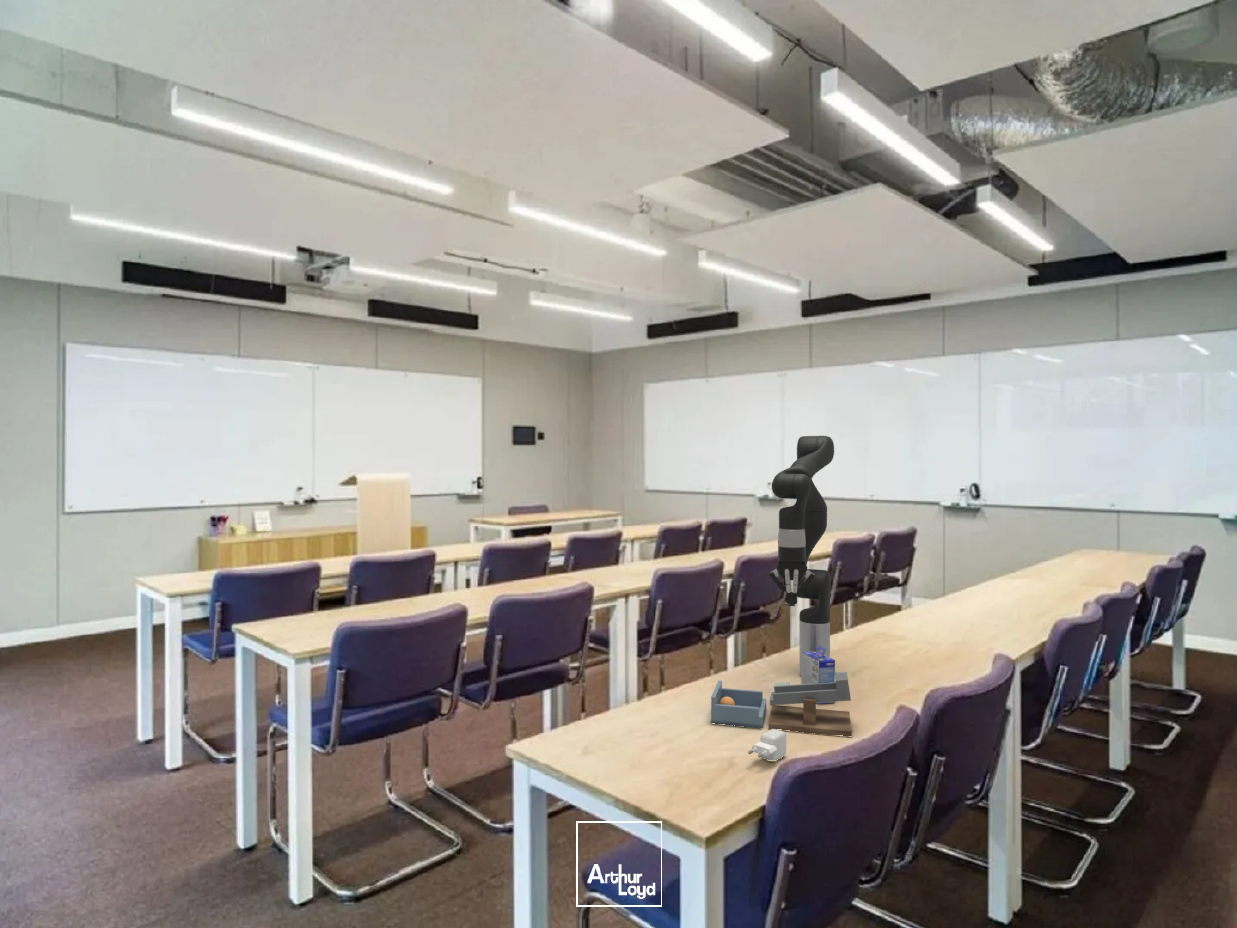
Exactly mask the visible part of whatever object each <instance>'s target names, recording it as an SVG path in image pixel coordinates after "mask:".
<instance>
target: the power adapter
mask: <svg viewBox="0 0 1237 928" xmlns="http://www.w3.org/2000/svg"><path fill="white" fill-rule="evenodd" d="M759 740H760V741H758V742H756V743H754V744H753V745H752V746H751V749H750V750H749V751H748V752H747V754H748V755H751V754H753V753H755V754H758V756H757V757H758V758H761V757H762V758H765V759H768V760H777V759H779V758H781V757H782V756H784V755H785V754H786V755H787V733H786V731H780V730H777V729H771V730H769V729H768V730H767V731H766V732H764V733H762V734H761V735H760V739H759ZM786 755H785V756H786ZM785 756H784V757H785ZM762 758H761V759H762ZM781 759H782V758H781Z"/></svg>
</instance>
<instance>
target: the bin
mask: <svg viewBox="0 0 1237 928" xmlns="http://www.w3.org/2000/svg"><path fill="white" fill-rule="evenodd" d="M763 695H764V694H763V691H762V690H751V689H739V688H738V689H737V688H728V687H723V680H717V682H716V686H715V688H714V690H713V692H712V695H711V697H710V703H711V704H710V711H711V713H710V715H711V716H710V717H711V719H710V720H711V721H710V723H715V724H725V725H733V726H732V727H736V726H744V727H743V728H746V727H753V728H752V729H757V728H764V724H763V723H765V718H766V714H767V698H764V697H763ZM723 697H730V698H732V699H733V700H734V703H735V706H734V705H722V704H720V700H721V699H722V698H723ZM715 724H714V725H715ZM725 725H724V726H725ZM734 725H735V726H734Z"/></svg>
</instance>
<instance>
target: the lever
mask: <svg viewBox="0 0 1237 928" xmlns="http://www.w3.org/2000/svg"><path fill="white" fill-rule="evenodd" d="M803 699H815V700H816V704H817V703H818V702H834V703H835V702H849V701H852V699H851V690H850V684H849V678H848V672H847V671H844V672H842V671H841V672H835V682H829V683H814V684H801V683H800V684H791V683H790V681H783V682H782V681H781V682H774V685H773V690H772V691H771V693H770V696H769V705H770V706H772V705H780V706H785V705H796V704H797V705H798V704H803Z"/></svg>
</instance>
